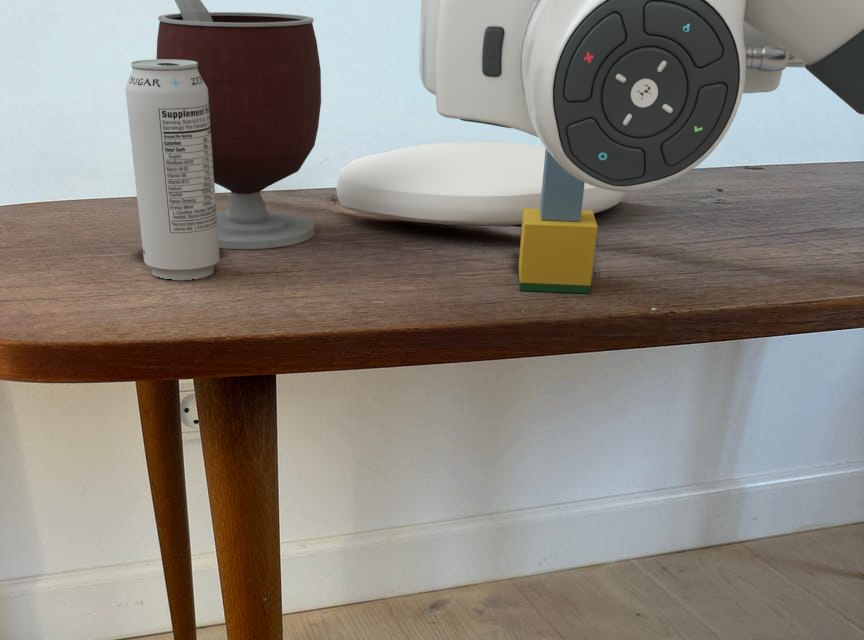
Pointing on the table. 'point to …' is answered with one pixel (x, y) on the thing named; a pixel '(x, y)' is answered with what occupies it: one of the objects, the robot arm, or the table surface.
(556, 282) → the dish wand
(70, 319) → the table surface
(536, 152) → the plate
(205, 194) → the energy drink can
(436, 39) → the robot arm
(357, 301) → the table surface
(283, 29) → the mate gourd
